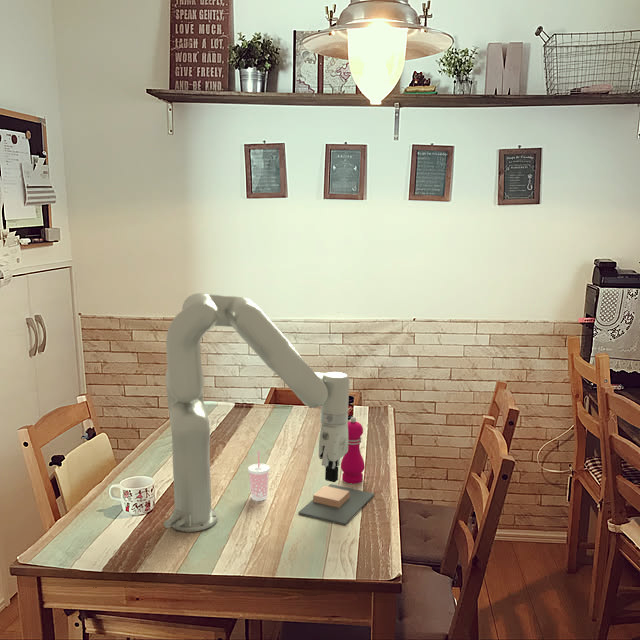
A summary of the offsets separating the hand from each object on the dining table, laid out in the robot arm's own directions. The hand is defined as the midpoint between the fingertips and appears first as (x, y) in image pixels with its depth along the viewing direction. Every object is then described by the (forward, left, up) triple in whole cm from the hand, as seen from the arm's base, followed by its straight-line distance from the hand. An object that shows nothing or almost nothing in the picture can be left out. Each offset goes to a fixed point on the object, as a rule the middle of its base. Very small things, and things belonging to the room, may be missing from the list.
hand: (331, 480), depth 185 cm
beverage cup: (-6, +20, -7) cm, 22 cm away
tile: (-3, 0, -5) cm, 6 cm away
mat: (0, -2, -7) cm, 7 cm away
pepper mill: (+17, +1, -7) cm, 18 cm away
